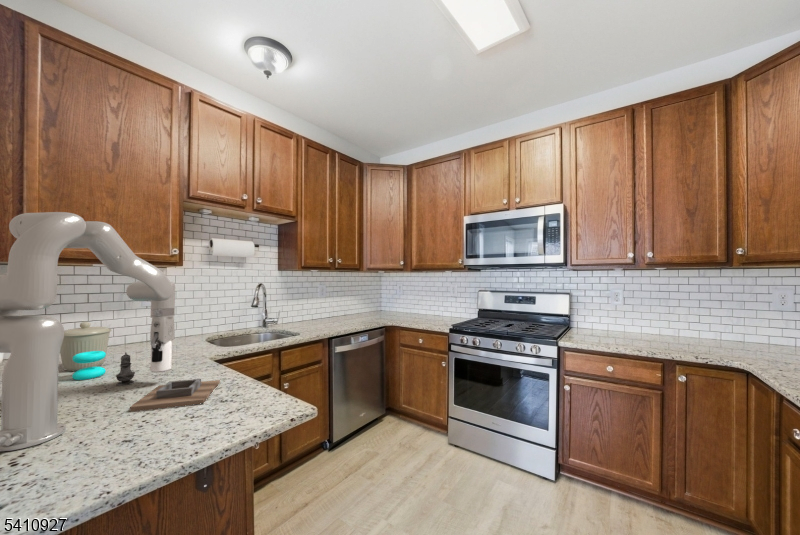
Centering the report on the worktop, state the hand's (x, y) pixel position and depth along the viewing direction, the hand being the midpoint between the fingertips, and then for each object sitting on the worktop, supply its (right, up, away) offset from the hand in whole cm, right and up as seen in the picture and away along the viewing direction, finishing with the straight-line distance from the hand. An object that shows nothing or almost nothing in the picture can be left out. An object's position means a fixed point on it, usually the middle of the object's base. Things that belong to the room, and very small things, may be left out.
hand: (161, 359), depth 124 cm
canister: (-52, -11, +22) cm, 57 cm away
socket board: (+17, -9, -13) cm, 23 cm away
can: (0, -5, 0) cm, 5 cm away
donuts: (-37, -10, +9) cm, 39 cm away
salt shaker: (-14, -10, +1) cm, 18 cm away
